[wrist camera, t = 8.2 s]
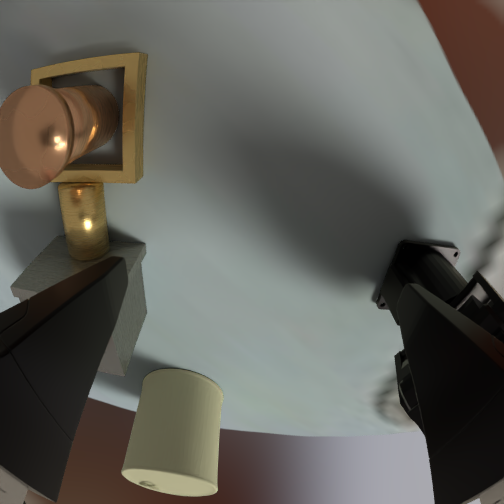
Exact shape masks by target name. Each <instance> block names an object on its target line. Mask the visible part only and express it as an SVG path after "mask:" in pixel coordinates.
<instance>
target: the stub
mask: <svg viewBox="0 0 504 504" xmlns="http://www.w3.org/2000/svg"><path fill="white" fill-rule="evenodd" d="M118 122H119V107H118V104H117V101H116V99H115V97H114V96H113V94H112V93H111V92H110V91H109V90H107V89H106V88H104V87H102V86H99V85H84V86H74V87H65V88H56V89H54V88H52V87H50V86H47V85H39V84H38V85H31V86H25V87H22V88H19V89H17V90H16V91H14V92H13V93H12V94H11V95H9V96H8V97H7V99H6V100H5V101H4V103H3V104H2V106H1V108H0V167H1V169H2V171H3V172H4V174H5V175H6V176H7V177H8V178H9V179H10V180H11V181H12V182H13V183H15V184H16V185H18V186H20V187H22V188H26V189H36V188H40V187H42V186H44V185H46V184H48V183H49V182H51V181H52V180H54V179H55V178H57V177H58V176H59V175H60V174H61V173H62V171H63V170H64V169H65V167H66V166H67V164H69V163H70V162H72V161H74V160H76V159H78V158H80V157H81V156H83V155H85V154H87V153H89V152H91V151H93V150H95V149H97V148H99V147H101V146H103V145H104V144H106V143H107V142H108V141H109V140H110V139H111V138H112V136H113V135H114V133H115V131H116V129H117V126H118Z"/></svg>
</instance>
